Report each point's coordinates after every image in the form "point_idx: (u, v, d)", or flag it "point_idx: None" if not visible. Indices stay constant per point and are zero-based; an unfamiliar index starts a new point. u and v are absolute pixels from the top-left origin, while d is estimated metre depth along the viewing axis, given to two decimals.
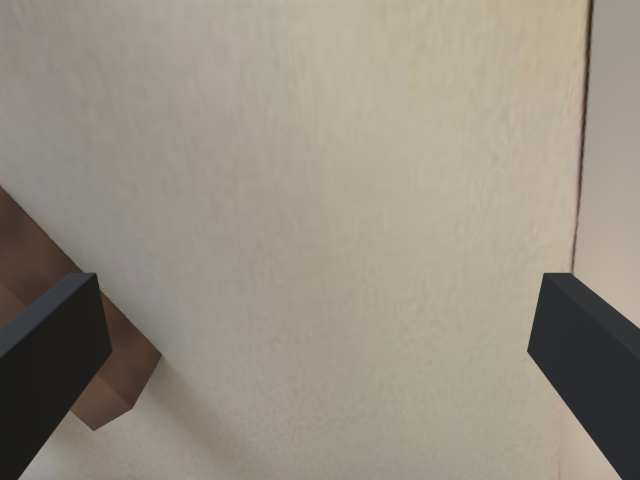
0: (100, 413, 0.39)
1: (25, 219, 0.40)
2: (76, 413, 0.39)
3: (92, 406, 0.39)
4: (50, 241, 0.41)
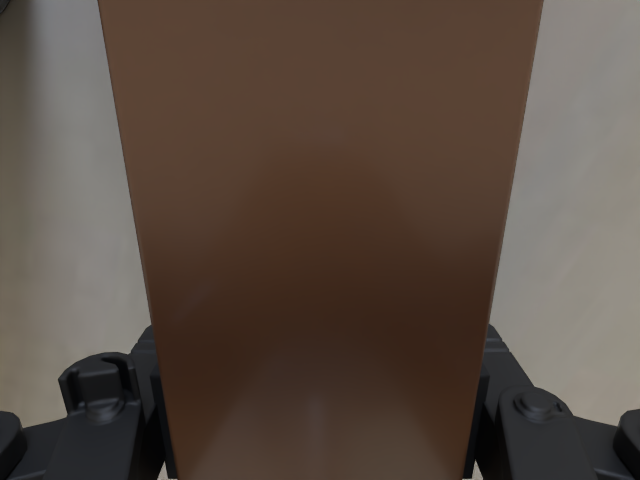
0: None
1: None
2: None
3: None
4: None
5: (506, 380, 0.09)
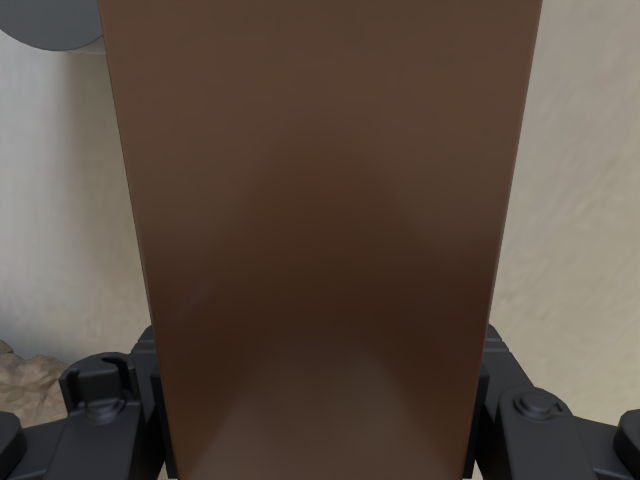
0: None
1: None
2: None
3: None
4: None
5: (506, 380, 0.09)
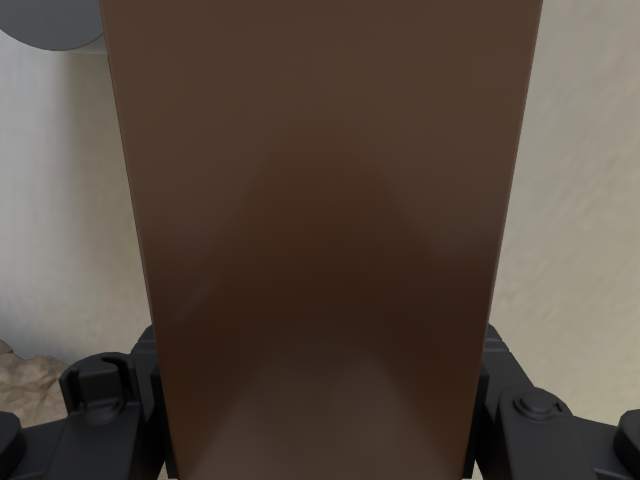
0: None
1: None
2: None
3: None
4: None
5: (506, 380, 0.09)
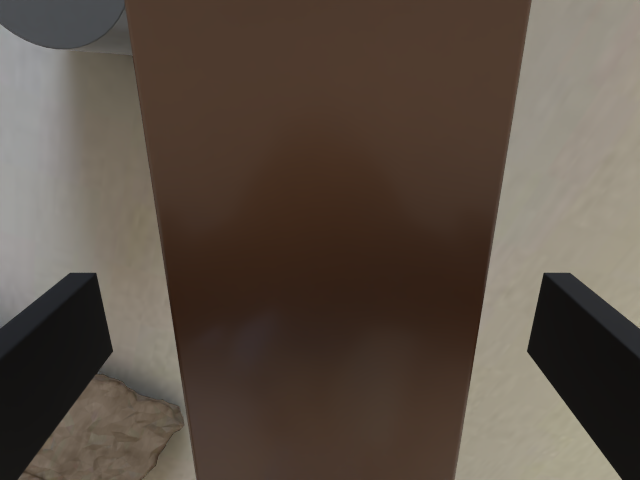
0: None
1: None
2: None
3: None
4: None
5: None
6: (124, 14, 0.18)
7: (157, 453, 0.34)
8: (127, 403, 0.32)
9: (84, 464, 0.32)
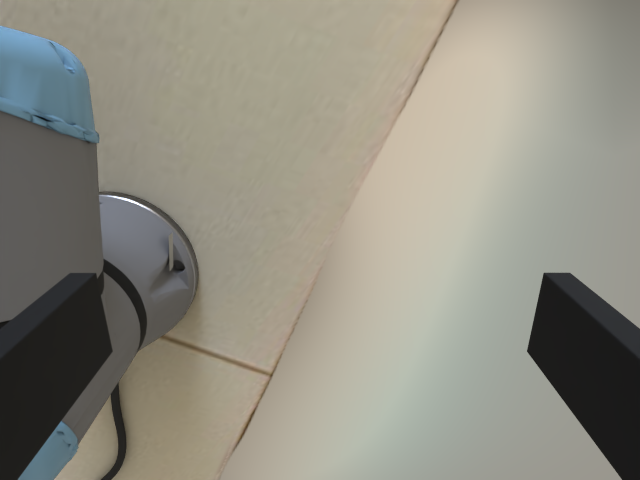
0: None
1: None
2: None
3: None
4: None
5: None
6: None
7: None
8: None
9: None
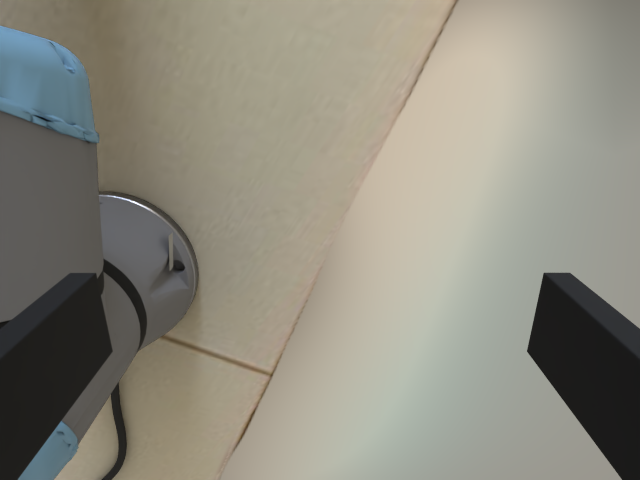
0: None
1: None
2: None
3: None
4: None
5: None
6: None
7: None
8: None
9: None
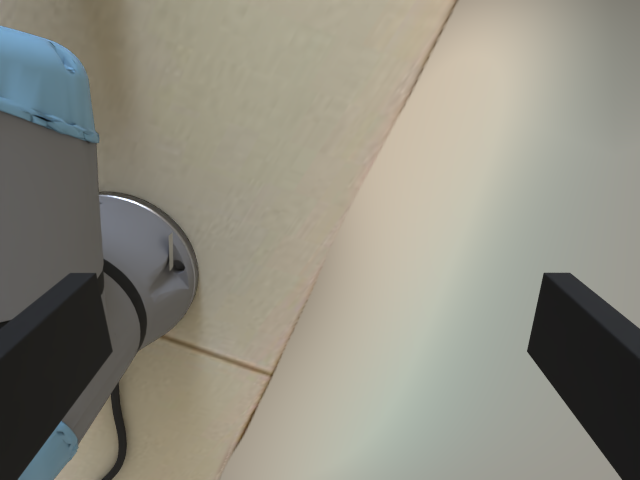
0: None
1: None
2: None
3: None
4: None
5: None
6: None
7: None
8: None
9: None
